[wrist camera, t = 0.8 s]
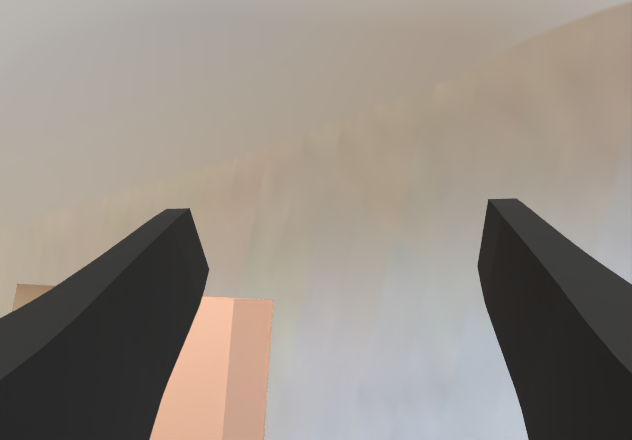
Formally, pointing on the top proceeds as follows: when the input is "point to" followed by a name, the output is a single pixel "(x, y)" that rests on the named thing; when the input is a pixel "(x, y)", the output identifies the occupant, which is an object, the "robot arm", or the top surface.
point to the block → (220, 374)
